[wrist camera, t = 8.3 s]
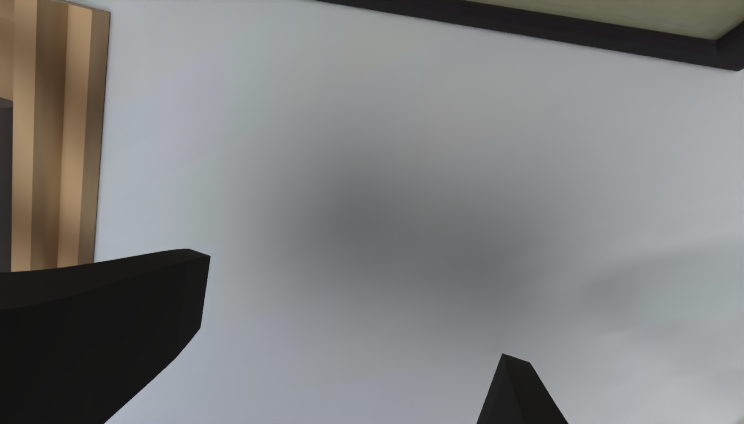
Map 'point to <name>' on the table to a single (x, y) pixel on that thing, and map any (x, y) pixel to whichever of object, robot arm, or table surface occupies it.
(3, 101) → the grey rectangular prism
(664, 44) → the picture frame
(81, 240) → the wooden tray
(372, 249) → the table surface
